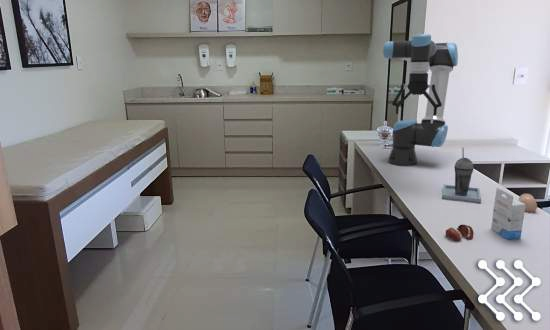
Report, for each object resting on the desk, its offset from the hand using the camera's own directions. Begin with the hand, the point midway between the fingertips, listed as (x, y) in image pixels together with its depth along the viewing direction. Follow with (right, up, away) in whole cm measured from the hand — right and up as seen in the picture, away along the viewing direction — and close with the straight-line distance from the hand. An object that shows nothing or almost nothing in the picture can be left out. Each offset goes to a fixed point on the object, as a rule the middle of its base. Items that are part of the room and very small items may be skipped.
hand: (415, 122), depth 171 cm
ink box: (+14, -42, -43) cm, 61 cm away
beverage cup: (+16, -31, -8) cm, 36 cm away
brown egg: (+36, -34, -25) cm, 55 cm away
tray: (+16, -32, -8) cm, 36 cm away
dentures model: (-2, -43, -44) cm, 61 cm away
